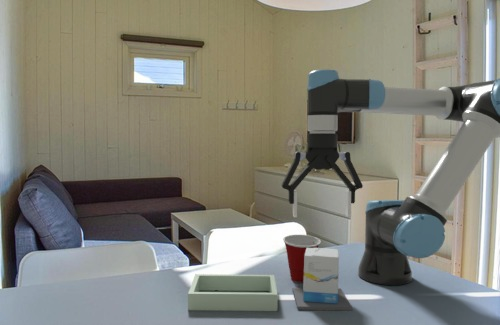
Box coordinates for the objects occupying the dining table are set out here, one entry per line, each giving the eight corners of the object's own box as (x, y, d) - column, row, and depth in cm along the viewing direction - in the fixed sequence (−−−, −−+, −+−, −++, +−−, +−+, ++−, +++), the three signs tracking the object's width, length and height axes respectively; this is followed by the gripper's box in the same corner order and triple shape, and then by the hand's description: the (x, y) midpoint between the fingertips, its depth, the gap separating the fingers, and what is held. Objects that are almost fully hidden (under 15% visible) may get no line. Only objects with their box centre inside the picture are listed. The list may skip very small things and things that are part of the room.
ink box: (337, 304, 109) (339, 257, 108) (302, 301, 110) (303, 255, 110) (337, 292, 117) (338, 248, 117) (305, 290, 119) (305, 246, 118)
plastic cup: (289, 287, 123) (290, 244, 123) (277, 275, 134) (278, 235, 133) (326, 284, 126) (327, 242, 125) (311, 272, 136) (312, 233, 136)
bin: (273, 289, 121) (274, 275, 121) (277, 311, 107) (277, 294, 106) (195, 288, 121) (195, 274, 121) (187, 310, 106) (187, 293, 106)
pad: (340, 291, 120) (340, 288, 120) (351, 310, 107) (351, 307, 107) (292, 290, 120) (292, 287, 120) (297, 309, 107) (297, 306, 107)
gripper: (367, 132, 117) (365, 213, 118) (271, 132, 116) (271, 214, 118) (376, 132, 109) (374, 218, 111) (274, 132, 109) (273, 219, 110)
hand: (321, 216), depth 114 cm, fingers open, 13 cm apart
